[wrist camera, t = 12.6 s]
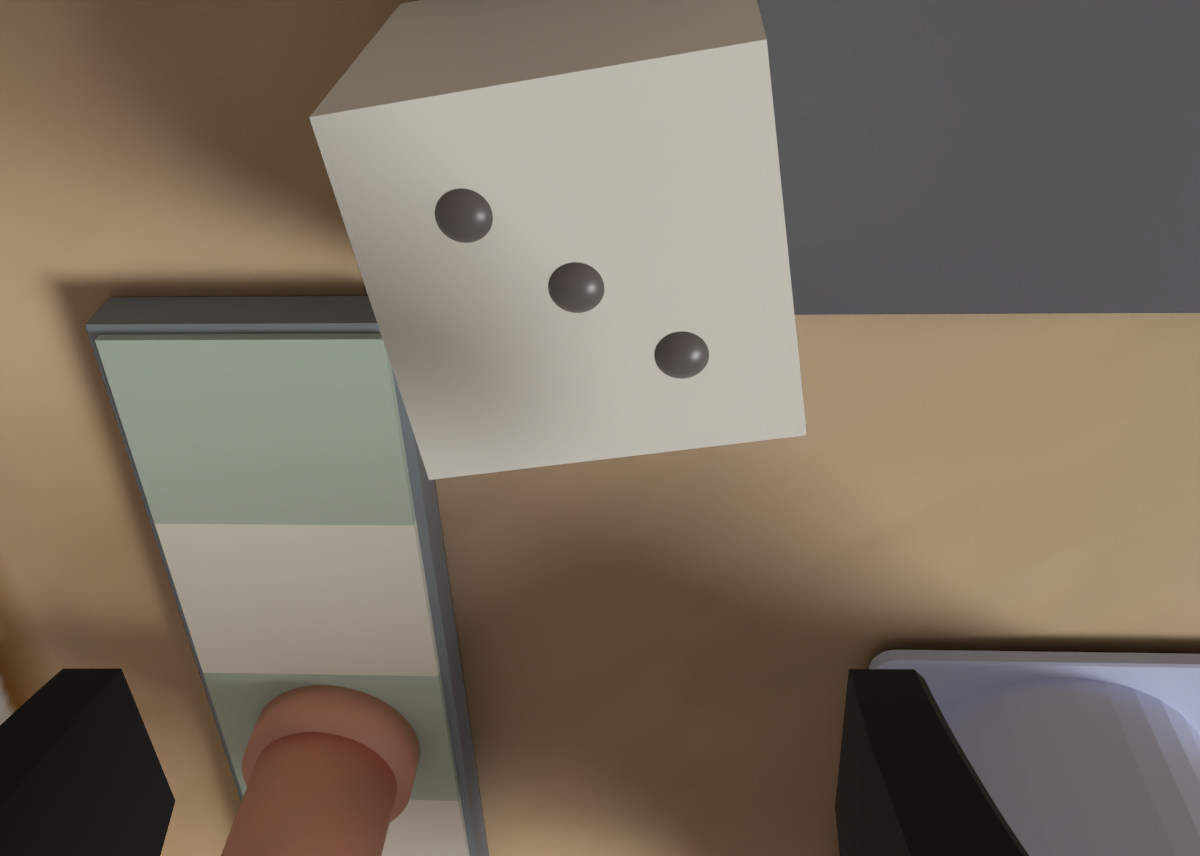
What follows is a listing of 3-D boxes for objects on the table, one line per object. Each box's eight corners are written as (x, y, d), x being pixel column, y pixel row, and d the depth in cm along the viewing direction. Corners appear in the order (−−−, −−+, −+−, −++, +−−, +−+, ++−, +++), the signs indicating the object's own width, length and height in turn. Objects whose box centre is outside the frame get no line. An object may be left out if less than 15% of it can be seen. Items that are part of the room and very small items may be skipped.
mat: (1247, 300, 19) (1258, 312, 19) (482, 305, 20) (479, 316, 20) (1396, -166, 15) (1412, -162, 15) (436, -136, 16) (431, -132, 16)
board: (514, 1033, 33) (509, 1075, 32) (334, 1027, 34) (324, 1068, 33) (407, 295, 20) (394, 329, 19) (109, 297, 20) (80, 330, 19)
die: (808, 451, 14) (418, 496, 15) (777, 267, 19) (476, 309, 19) (767, 43, 12) (291, 124, 12) (742, -62, 16) (392, 2, 17)
